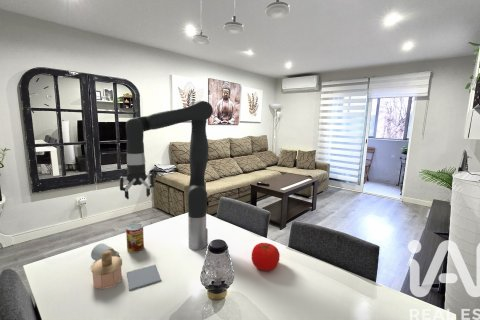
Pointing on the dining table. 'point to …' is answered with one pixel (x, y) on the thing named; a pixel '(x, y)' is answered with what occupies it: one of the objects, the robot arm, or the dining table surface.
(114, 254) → the ceramic mug
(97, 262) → the lid
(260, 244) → the tomato
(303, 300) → the dining table surface
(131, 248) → the canned food
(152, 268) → the mat
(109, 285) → the bowl
